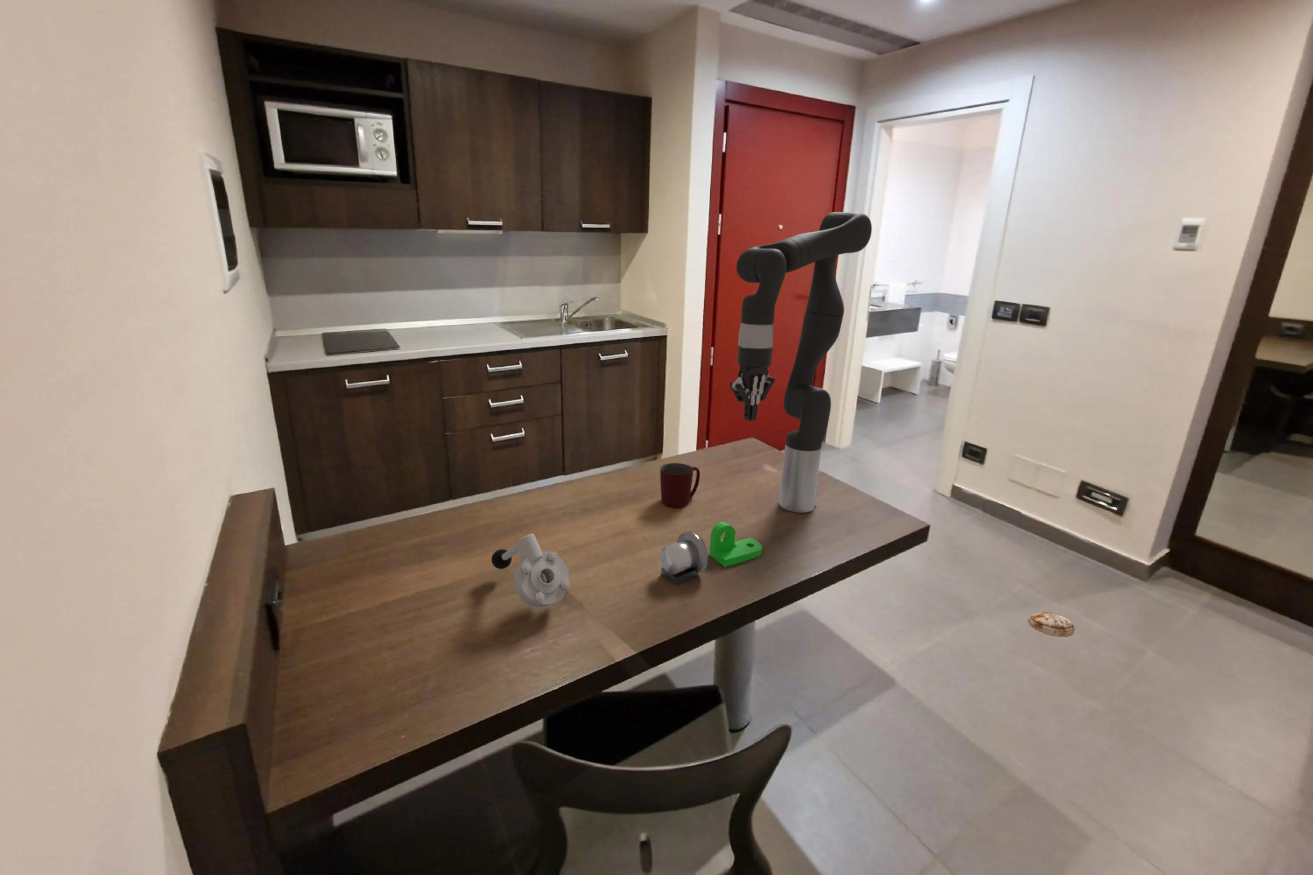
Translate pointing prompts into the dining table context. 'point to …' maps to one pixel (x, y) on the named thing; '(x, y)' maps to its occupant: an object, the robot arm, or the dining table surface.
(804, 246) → the robot arm
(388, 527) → the dining table surface
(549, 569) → the mechanical valve
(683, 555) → the grey mushroom knob
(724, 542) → the mechanical part
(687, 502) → the mug
